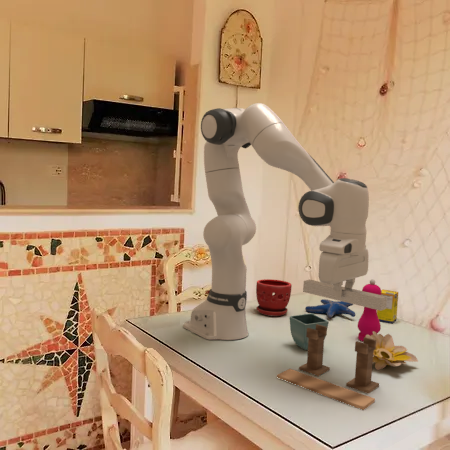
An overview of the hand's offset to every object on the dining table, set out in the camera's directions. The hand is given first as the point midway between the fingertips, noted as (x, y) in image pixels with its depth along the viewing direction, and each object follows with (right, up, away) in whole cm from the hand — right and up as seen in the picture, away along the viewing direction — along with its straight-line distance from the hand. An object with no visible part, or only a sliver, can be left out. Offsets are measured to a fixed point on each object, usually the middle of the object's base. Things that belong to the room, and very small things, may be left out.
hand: (342, 296), depth 127 cm
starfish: (+10, -16, +62) cm, 65 cm away
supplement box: (+30, -17, +56) cm, 66 cm away
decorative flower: (+15, -22, +11) cm, 29 cm away
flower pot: (-5, -19, +24) cm, 32 cm away
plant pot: (-12, -15, +60) cm, 63 cm away
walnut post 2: (+4, -22, -2) cm, 23 cm away
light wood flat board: (-6, -22, -5) cm, 24 cm away
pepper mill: (+16, -19, +34) cm, 42 cm away
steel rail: (0, -1, 0) cm, 1 cm away
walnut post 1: (-6, -21, +7) cm, 23 cm away
